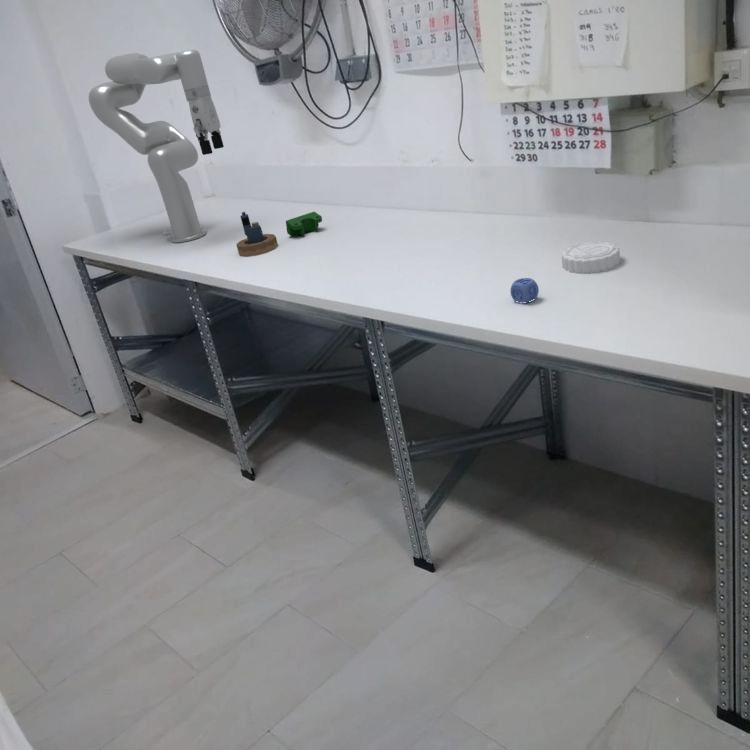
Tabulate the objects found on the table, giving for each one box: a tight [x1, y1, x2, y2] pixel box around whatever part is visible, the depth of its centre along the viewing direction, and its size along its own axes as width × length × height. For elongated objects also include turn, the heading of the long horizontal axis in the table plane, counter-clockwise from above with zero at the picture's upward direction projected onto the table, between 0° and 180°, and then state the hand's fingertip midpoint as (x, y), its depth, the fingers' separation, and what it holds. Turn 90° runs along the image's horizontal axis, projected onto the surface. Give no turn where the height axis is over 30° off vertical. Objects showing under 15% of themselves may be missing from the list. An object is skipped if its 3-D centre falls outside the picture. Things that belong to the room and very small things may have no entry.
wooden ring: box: [236, 233, 279, 257], centre depth 224 cm, size 12×12×3 cm
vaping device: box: [240, 211, 264, 244], centre depth 222 cm, size 3×5×12 cm, turn 108°
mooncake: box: [561, 241, 621, 274], centre depth 158 cm, size 12×12×4 cm
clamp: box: [285, 211, 323, 238], centre depth 231 cm, size 11×6×8 cm, turn 117°
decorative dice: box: [510, 277, 540, 302], centre depth 147 cm, size 4×4×4 cm
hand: (213, 151), depth 232 cm, fingers open, 9 cm apart
